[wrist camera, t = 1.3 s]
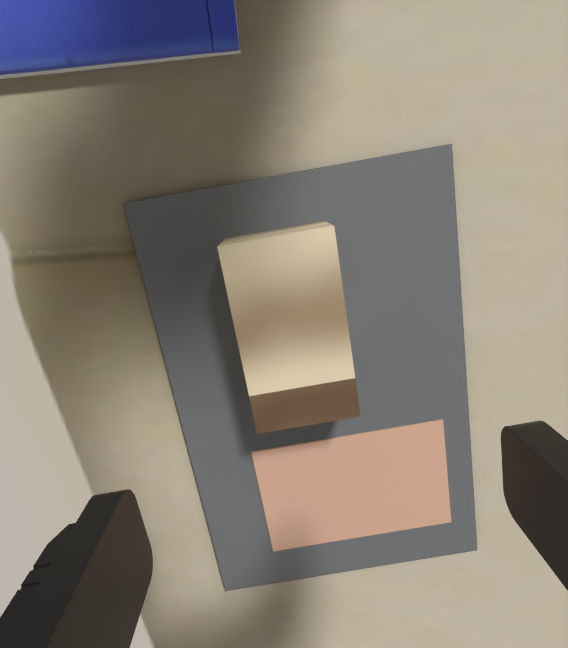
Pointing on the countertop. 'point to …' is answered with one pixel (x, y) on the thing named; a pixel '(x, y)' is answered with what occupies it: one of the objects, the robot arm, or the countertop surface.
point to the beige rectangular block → (291, 325)
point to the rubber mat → (368, 359)
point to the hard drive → (111, 33)
